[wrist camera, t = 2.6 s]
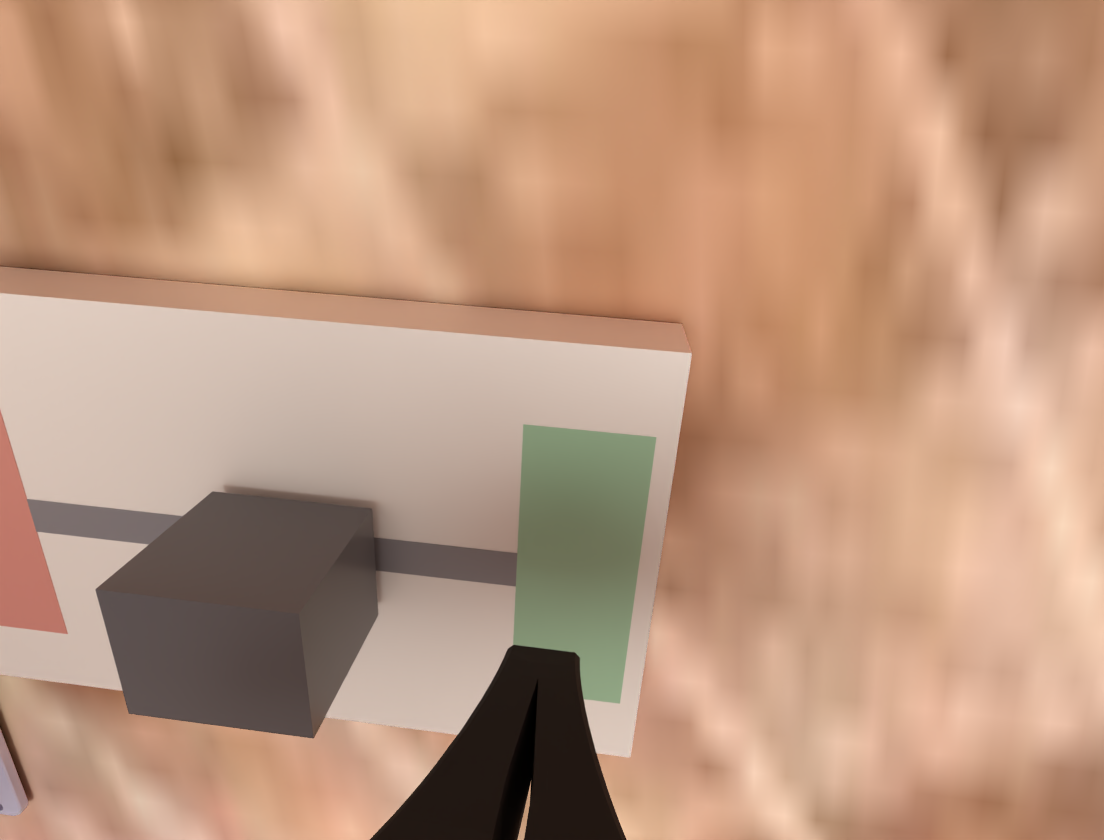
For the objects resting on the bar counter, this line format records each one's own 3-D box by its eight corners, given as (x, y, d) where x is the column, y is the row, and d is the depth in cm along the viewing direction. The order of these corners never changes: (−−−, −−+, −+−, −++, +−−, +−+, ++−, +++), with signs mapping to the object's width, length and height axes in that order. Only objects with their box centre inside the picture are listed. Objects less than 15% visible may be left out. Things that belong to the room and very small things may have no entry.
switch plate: (43, 616, 22) (-25, 671, 20) (-70, 260, 17) (-177, 278, 15) (629, 689, 21) (630, 758, 18) (681, 323, 16) (691, 353, 14)
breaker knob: (230, 597, 17) (128, 713, 13) (212, 491, 16) (94, 589, 12) (378, 615, 17) (313, 738, 13) (372, 508, 15) (299, 613, 12)
